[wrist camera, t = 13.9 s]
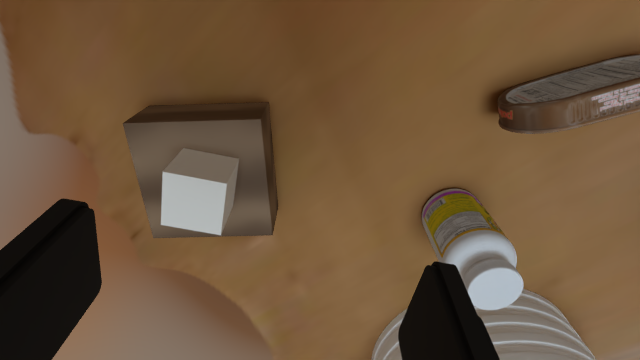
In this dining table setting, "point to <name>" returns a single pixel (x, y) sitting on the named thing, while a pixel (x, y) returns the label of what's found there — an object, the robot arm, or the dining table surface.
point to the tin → (573, 97)
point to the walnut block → (212, 137)
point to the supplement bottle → (473, 248)
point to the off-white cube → (198, 191)
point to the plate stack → (511, 332)
